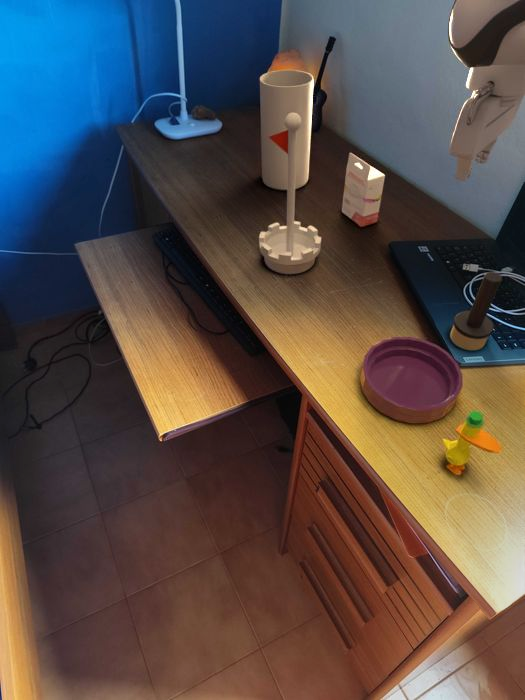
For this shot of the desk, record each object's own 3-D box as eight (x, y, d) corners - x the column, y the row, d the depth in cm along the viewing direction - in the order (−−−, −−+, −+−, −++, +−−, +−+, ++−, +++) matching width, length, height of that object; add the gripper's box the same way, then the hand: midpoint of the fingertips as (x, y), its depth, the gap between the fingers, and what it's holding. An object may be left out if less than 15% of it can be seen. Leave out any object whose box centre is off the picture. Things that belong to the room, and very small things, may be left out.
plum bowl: (475, 409, 73) (483, 393, 70) (389, 437, 70) (394, 421, 67) (421, 343, 83) (427, 327, 80) (344, 366, 80) (346, 349, 77)
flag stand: (330, 253, 102) (344, 108, 81) (299, 284, 95) (306, 134, 73) (280, 235, 108) (281, 95, 86) (247, 264, 100) (240, 118, 79)
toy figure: (484, 474, 65) (516, 425, 56) (473, 492, 63) (504, 444, 55) (440, 446, 68) (464, 396, 60) (428, 463, 66) (451, 413, 58)
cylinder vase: (294, 196, 120) (297, 90, 102) (253, 184, 125) (249, 81, 107) (316, 176, 127) (322, 74, 109) (277, 166, 132) (277, 67, 114)
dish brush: (494, 345, 82) (524, 284, 72) (463, 355, 81) (489, 293, 71) (471, 322, 86) (497, 261, 76) (441, 331, 85) (463, 269, 75)
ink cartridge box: (378, 222, 111) (389, 161, 100) (361, 228, 109) (370, 167, 98) (357, 206, 116) (365, 147, 105) (340, 211, 114) (347, 152, 104)
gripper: (500, 94, 61) (468, 195, 70) (540, 67, 73) (508, 157, 82) (453, 86, 64) (428, 185, 73) (499, 61, 76) (473, 149, 85)
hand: (471, 170), depth 78 cm, fingers open, 8 cm apart
